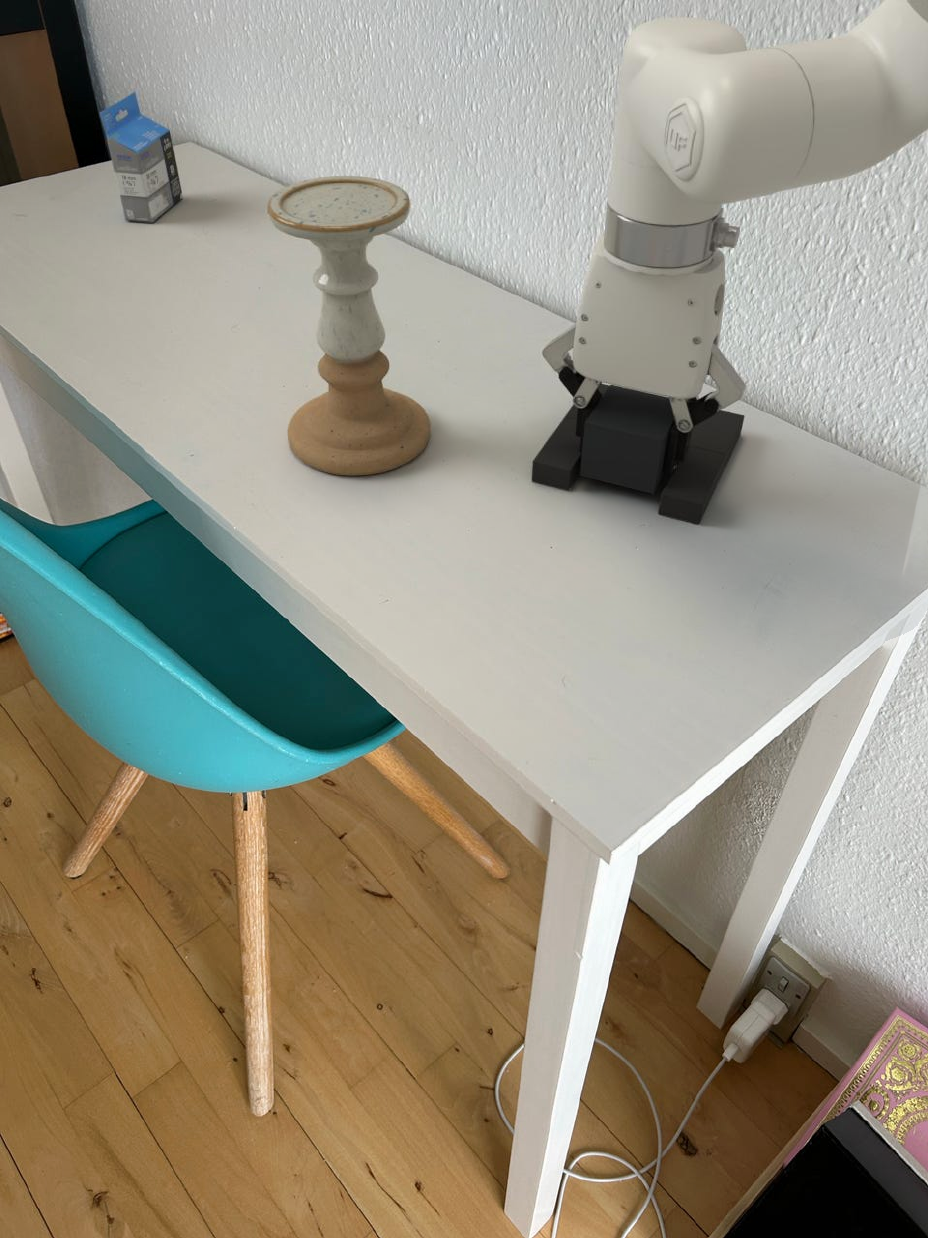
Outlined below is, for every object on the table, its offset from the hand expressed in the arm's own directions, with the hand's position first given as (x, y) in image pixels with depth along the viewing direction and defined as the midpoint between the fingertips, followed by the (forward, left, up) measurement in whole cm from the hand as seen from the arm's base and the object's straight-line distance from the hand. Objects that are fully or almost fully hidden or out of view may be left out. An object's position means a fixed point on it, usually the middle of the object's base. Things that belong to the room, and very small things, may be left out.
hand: (629, 453), depth 79 cm
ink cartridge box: (+72, -31, -3) cm, 79 cm away
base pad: (0, -3, -2) cm, 4 cm away
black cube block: (0, 0, -1) cm, 1 cm away
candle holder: (+23, +4, -3) cm, 23 cm away
